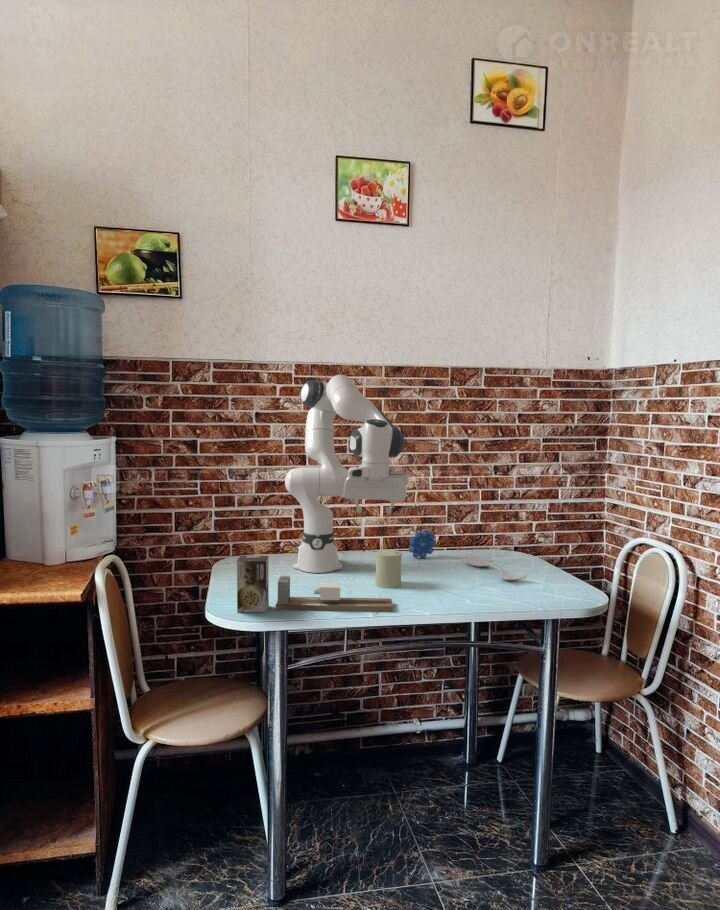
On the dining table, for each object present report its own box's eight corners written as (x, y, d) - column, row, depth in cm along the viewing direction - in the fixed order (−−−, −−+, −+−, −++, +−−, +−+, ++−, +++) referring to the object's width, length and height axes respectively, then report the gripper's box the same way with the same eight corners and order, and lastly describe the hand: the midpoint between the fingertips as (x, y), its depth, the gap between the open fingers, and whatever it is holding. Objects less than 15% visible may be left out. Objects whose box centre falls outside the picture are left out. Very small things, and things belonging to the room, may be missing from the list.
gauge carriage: (314, 596, 195) (315, 582, 195) (340, 596, 195) (340, 582, 195) (313, 603, 188) (313, 588, 188) (339, 603, 188) (339, 589, 188)
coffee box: (269, 605, 192) (269, 555, 190) (266, 613, 185) (267, 560, 184) (239, 605, 192) (239, 554, 190) (236, 612, 185) (236, 560, 184)
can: (402, 588, 212) (403, 554, 211) (376, 588, 212) (377, 554, 211) (399, 580, 222) (400, 548, 221) (373, 580, 221) (374, 548, 220)
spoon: (506, 586, 219) (507, 576, 218) (460, 563, 248) (461, 554, 248) (527, 584, 222) (528, 574, 221) (480, 561, 252) (480, 553, 251)
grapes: (433, 555, 259) (434, 527, 258) (437, 559, 252) (438, 531, 251) (406, 555, 257) (407, 527, 256) (409, 560, 251) (410, 531, 250)
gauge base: (279, 601, 197) (279, 575, 196) (391, 603, 197) (391, 577, 196) (275, 609, 189) (276, 582, 188) (392, 611, 189) (393, 584, 188)
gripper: (407, 470, 199) (405, 511, 201) (344, 468, 199) (343, 509, 201) (408, 473, 193) (407, 516, 195) (343, 471, 193) (342, 514, 195)
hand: (374, 513), depth 198 cm, fingers open, 8 cm apart
